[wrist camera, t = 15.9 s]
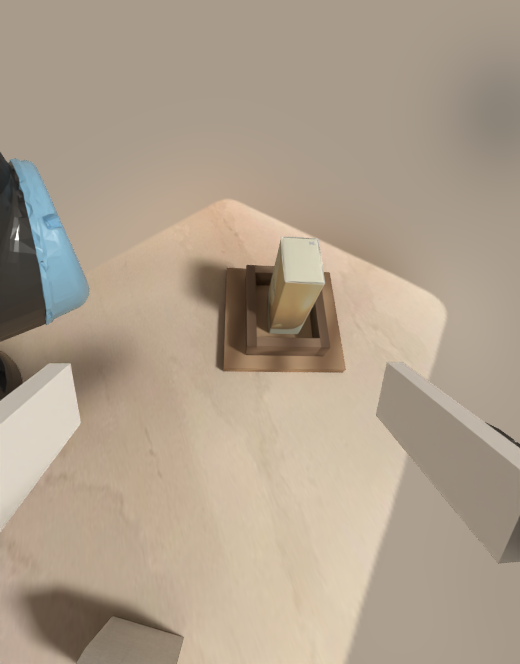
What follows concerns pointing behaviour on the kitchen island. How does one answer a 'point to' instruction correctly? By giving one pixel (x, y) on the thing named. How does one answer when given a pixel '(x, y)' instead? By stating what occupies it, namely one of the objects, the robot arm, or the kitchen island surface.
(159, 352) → the kitchen island surface
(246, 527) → the kitchen island surface
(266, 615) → the kitchen island surface
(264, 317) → the walnut box stand
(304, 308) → the skincare box
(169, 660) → the grey rectangular block
